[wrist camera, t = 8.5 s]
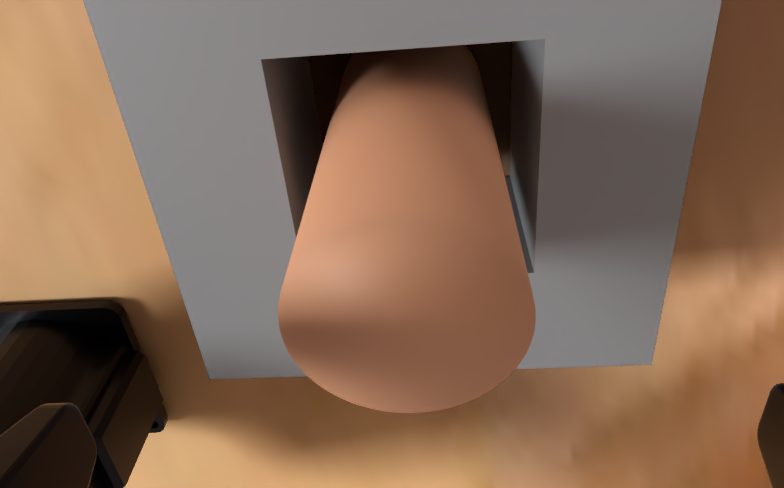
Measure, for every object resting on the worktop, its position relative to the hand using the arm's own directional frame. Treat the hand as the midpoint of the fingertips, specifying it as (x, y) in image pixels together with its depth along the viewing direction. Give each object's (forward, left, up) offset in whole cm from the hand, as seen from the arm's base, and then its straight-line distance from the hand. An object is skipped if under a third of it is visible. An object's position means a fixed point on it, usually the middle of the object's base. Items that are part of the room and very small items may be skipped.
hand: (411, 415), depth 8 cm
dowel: (0, 0, -12) cm, 12 cm away
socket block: (0, 0, -12) cm, 12 cm away
